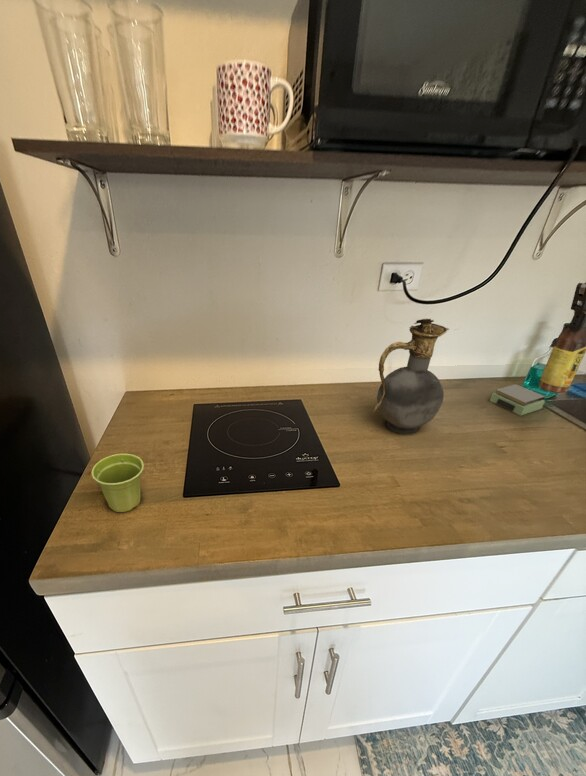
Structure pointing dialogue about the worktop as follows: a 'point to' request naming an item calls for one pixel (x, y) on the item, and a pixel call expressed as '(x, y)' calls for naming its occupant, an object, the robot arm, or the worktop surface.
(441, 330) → the pitcher
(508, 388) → the scale platform
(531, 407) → the scale
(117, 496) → the plant pot
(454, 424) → the worktop surface
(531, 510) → the worktop surface
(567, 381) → the sauce bottle
